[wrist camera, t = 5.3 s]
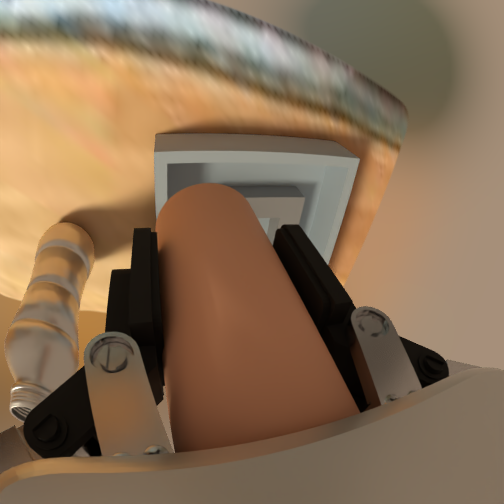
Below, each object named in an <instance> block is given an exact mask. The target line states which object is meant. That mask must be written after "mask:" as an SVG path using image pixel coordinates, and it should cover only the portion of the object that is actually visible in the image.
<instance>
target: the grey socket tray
mask: <svg viewBox="0 0 504 504" xmlns="http://www.w3.org/2000/svg"><path fill="white" fill-rule="evenodd" d="M359 161H360V158H358V157H357V156H356V155H354V154H353V153H351V152H350V151H349V150H347V149H346V148H344V147H343V146H341V145H340V144H339V143H337V142H336V141H330V140H321V139H311V138H300V137H287V136H272V135H253V134H220V133H183V134H156V136H155V149H154V174H155V206H156V221H157V218H158V215H159V213H160V211H161V209H162V207H163V206H164V204H165V203H166V202H167V201H168V200H169V199H170V198H171V197H172V196H173V195H175V194H176V193H177V192H179V191H181V190H182V189H185V188H187V187H189V186H192V185H196V184H201V183H217V184H222V185H225V186H228V187H231V188H233V189H235V190H236V191H238V192H239V193H240V194H242V195H243V196H244V197H245V198H246V200H247V201H248V202H249V204H250V206H251V208H252V209H253V211H254V213H255V215H256V217H257V218H258V220H259V222H260V224H261V226H262V228H263V229H264V231H265V233H266V235H267V237H268V238H269V240H270V242H271V244H272V246H273V242H274V237H275V232H276V230H277V229H280V228H281V226H282V225H283V224H298V225H300V227H301V228H302V229H303V231H304V232H305V233H306V235H307V236H308V238H309V239H310V240H311V242H312V243H313V245H314V246H315V247H316V249H317V250H318V252H319V253H320V255H321V256H322V257H323V259H324V260H325V262H326V263H327V265H328V264H329V261H330V258H331V255H332V252H333V249H334V245H335V242H336V239H337V236H338V233H339V230H340V227H341V223H342V220H343V217H344V214H345V210H346V207H347V203H348V200H349V197H350V193H351V190H352V186H353V183H354V179H355V176H356V172H357V168H358V165H359Z"/></svg>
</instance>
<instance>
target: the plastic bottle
mask: <svg viewBox="0 0 504 504" xmlns="http://www.w3.org/2000/svg"><path fill="white" fill-rule="evenodd" d="M93 264H94V245H93V242H92V240H91V238H90V236H89V235H88V233H87V232H86V231H85V230H84V229H82V228H81V227H80V226H78V225H76V224H73V223H67V222H64V223H58V224H55V225H53V226H51V227H50V228H49V229H48V230H47V231H46V232H45V233H44V235H43V236H42V237H41V239H40V241H39V244H38V247H37V251H36V257H35V264H34V268H33V272H32V276H31V280H30V283H29V285H28V288H27V291H26V293H25V295H24V298H23V300H22V303H21V305H20V307H19V309H18V312H17V313H16V316H15V318H14V320H13V322H12V324H11V326H10V328H9V330H8V333H7V336H6V339H5V356H6V360H7V363H8V366H9V369H10V371H11V374H12V375H13V378H14V380H15V382H16V383H14V384H13V385H12V386H11V401H10V412H11V414H12V415H13V416H14V417H15V418H17V419H18V420H20V421H22V422H25V419H26V417H27V415H28V414H29V413H30V411H31V410H32V409H33V408H35V407H36V406H37V405H38V404H39V403H40V402H42V401H43V400H44V399H45V398H46V397H48V396H49V395H50V394H51V393H52V392H53V391H55V390H56V389H57V388H58V387H59V386H61V385H62V384H63V383H64V382H65V381H67V380H68V379H69V378H70V377H71V376H72V375H74V374H75V373H76V371H77V369H78V365H79V352H78V351H79V346H78V317H79V307H80V300H81V297H82V294H83V290H84V287H85V283H86V281H87V279H88V277H89V275H90V273H91V270H92V268H93Z"/></svg>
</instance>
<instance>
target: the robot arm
mask: <svg viewBox="0 0 504 504" xmlns="http://www.w3.org/2000/svg"><path fill="white" fill-rule="evenodd" d="M273 248H274V249H275V251H276V253H277V255H278V257H279V259H280V260H281V262H282V264H283V266H284V268H285V270H286V272H287V273H288V275H289V277H290V279H291V281H292V283H293V285H294V286H295V288H296V290H297V292H298V294H299V296H300V298H301V300H302V301H303V303H304V305H305V307H306V309H307V311H308V313H309V315H310V316H311V318H312V320H313V322H314V324H315V326H316V328H317V330H318V332H319V334H320V335H321V337H322V339H323V341H324V343H325V345H326V347H327V349H328V351H329V353H330V355H331V357H332V358H333V360H334V362H335V364H336V366H337V368H338V370H339V372H340V374H341V376H342V378H343V380H344V382H345V384H346V386H347V388H348V390H349V392H350V393H351V395H352V397H353V399H354V401H355V403H356V405H357V407H358V409H359V411H360V413H359V414H356V415H353V416H350V417H347V418H344V419H341V420H338V421H335V422H331V423H328V424H325V425H321V426H318V427H314V428H311V429H307V430H303V431H299V432H295V433H291V434H287V435H283V436H279V437H274V438H270V439H265V440H260V441H255V442H250V443H245V444H239V445H233V446H227V447H221V448H214V449H206V450H198V451H189V452H179V453H174V452H173V449H172V447H171V444H170V442H169V439H168V436H167V434H166V431H165V428H164V426H163V423H162V420H161V417H160V414H159V411H158V409H157V405H158V404H159V403H160V402H161V401H162V400H163V395H164V393H163V386H165V381H164V372H163V363H162V353H163V348H164V339H163V328H162V315H161V301H160V285H159V265H158V239H157V232H151V228H134V235H133V246H132V258H131V269H115V270H112V273H111V279H110V287H109V296H108V305H107V317H106V327H105V333H102V334H99V335H98V336H96V337H95V338H93V339H92V340H91V341H90V342H89V343H88V344H87V346H86V348H85V351H84V366H83V367H82V368H81V369H80V370H78V371H77V372H76V373H75V374H74V375H72V376H71V377H70V378H69V379H68V380H67V381H65V382H64V383H63V384H62V385H61V386H59V387H58V388H57V389H56V390H55V391H53V392H52V393H51V394H50V395H49V396H48V397H46V398H45V399H44V400H43V401H42V402H40V403H39V404H38V405H37V406H36V407H35V408H33V409H32V410H31V411H30V413H29V414H28V415H27V417H26V419H25V422H24V425H22V426H20V427H18V428H17V427H16V426H15V425H14V426H12V427H11V428H9V429H7V430H5V431H3V432H1V433H0V504H504V370H501V369H497V368H482V367H478V366H473V365H469V364H464V363H460V362H456V361H451V360H446V361H445V360H444V358H443V357H441V356H440V355H439V354H438V353H436V352H434V351H432V350H430V349H428V348H425V347H423V346H421V345H418V344H416V343H414V342H412V341H409V340H407V339H405V338H402V337H400V336H398V334H397V332H396V329H395V327H394V325H393V324H392V322H391V320H390V319H389V317H388V316H387V315H386V314H385V313H383V312H382V311H380V310H378V309H375V308H372V307H366V306H364V307H359V308H357V309H356V307H355V306H354V304H353V303H352V300H351V298H350V297H349V295H348V294H347V292H346V291H345V289H344V288H343V286H342V285H341V283H340V282H339V280H338V279H337V278H336V276H335V275H334V273H333V272H332V270H331V269H330V267H329V266H328V265H327V263H326V262H325V260H324V259H323V257H322V256H321V255H320V253H319V252H318V250H317V249H316V247H315V246H314V245H313V243H312V242H311V240H310V239H309V238H308V236H307V235H306V233H305V232H304V231H303V229H302V228H301V227H300V225H298V224H283V225H282V226H281V228H280V229H277V230H276V232H275V237H274V242H273Z"/></svg>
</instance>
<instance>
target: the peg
mask: <svg viewBox="0 0 504 504" xmlns="http://www.w3.org/2000/svg"><path fill="white" fill-rule="evenodd" d="M155 232H157V239H158V265H159V285H160V301H161V315H162V328H163V339H164V348H163V353H162V363H163V372H164V381H165V388H166V397H167V404H168V411H169V419H170V425H171V432H172V438H173V444H174V449H175V453H179V452H189V451H198V450H206V449H214V448H221V447H227V446H233V445H239V444H245V443H250V442H255V441H260V440H265V439H270V438H274V437H279V436H283V435H287V434H291V433H295V432H299V431H303V430H307V429H311V428H314V427H318V426H321V425H325V424H328V423H331V422H335V421H338V420H341V419H344V418H347V417H350V416H353V415H356V414H359V413H360V411H359V409H358V407H357V405H356V403H355V401H354V399H353V397H352V395H351V393H350V392H349V390H348V388H347V386H346V384H345V382H344V380H343V378H342V376H341V374H340V372H339V370H338V368H337V366H336V364H335V362H334V360H333V358H332V357H331V355H330V353H329V351H328V349H327V347H326V345H325V343H324V341H323V339H322V337H321V335H320V334H319V332H318V330H317V328H316V326H315V324H314V322H313V320H312V318H311V316H310V315H309V313H308V311H307V309H306V307H305V305H304V303H303V301H302V300H301V298H300V296H299V294H298V292H297V290H296V288H295V286H294V285H293V283H292V281H291V279H290V277H289V275H288V273H287V272H286V270H285V268H284V266H283V264H282V262H281V260H280V259H279V257H278V255H277V253H276V251H275V249H274V248H273V246H272V244H271V242H270V240H269V238H268V237H267V235H266V233H265V231H264V229H263V228H262V226H261V224H260V222H259V220H258V218H257V217H256V215H255V213H254V211H253V209H252V208H251V206H250V204H249V202H248V201H247V200H246V198H245V197H244V196H243V195H242V194H240V193H239V192H238V191H236V190H235V189H233V188H231V187H228V186H225V185H222V184H217V183H201V184H196V185H192V186H189V187H187V188H185V189H182V190H181V191H179V192H177V193H176V194H175V195H173V196H172V197H171V198H170V199H169V200H168V201H167V202H166V203H165V204H164V206H163V207H162V209H161V211H160V213H159V215H158V218H157V221H156V229H155Z"/></svg>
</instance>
